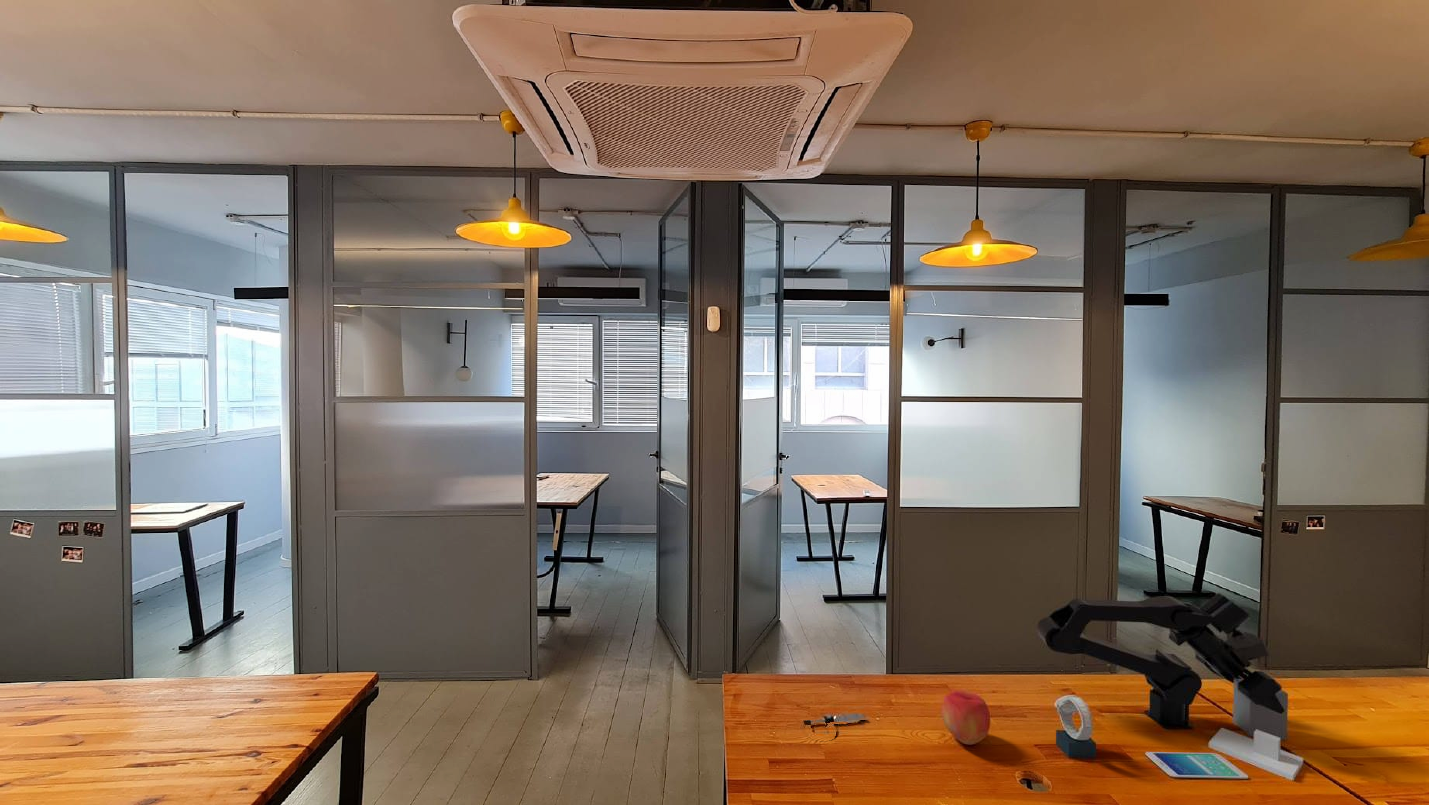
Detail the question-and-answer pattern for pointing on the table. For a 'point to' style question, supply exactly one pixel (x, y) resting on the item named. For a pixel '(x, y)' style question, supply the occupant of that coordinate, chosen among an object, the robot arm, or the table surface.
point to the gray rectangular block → (1259, 714)
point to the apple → (966, 716)
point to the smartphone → (1195, 765)
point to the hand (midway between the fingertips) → (1266, 700)
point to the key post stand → (1258, 751)
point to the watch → (1070, 738)
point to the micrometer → (838, 718)
